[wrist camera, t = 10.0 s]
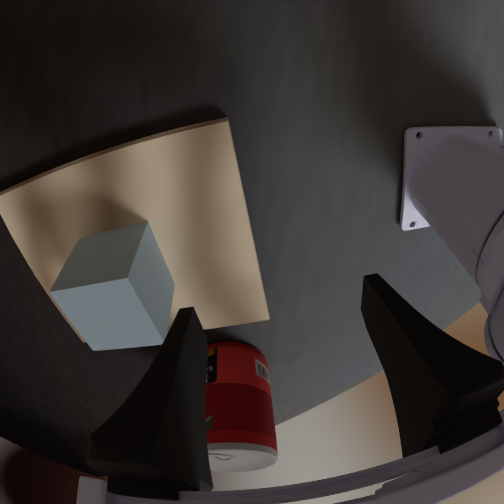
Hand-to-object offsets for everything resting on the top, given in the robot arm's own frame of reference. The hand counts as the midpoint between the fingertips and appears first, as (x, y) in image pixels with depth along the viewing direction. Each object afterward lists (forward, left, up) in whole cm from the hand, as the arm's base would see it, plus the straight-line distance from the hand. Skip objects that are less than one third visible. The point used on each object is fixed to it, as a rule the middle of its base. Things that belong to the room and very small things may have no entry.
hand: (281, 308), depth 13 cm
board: (+10, +2, -9) cm, 14 cm away
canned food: (+6, +17, -10) cm, 20 cm away
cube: (+10, +2, -8) cm, 13 cm away
